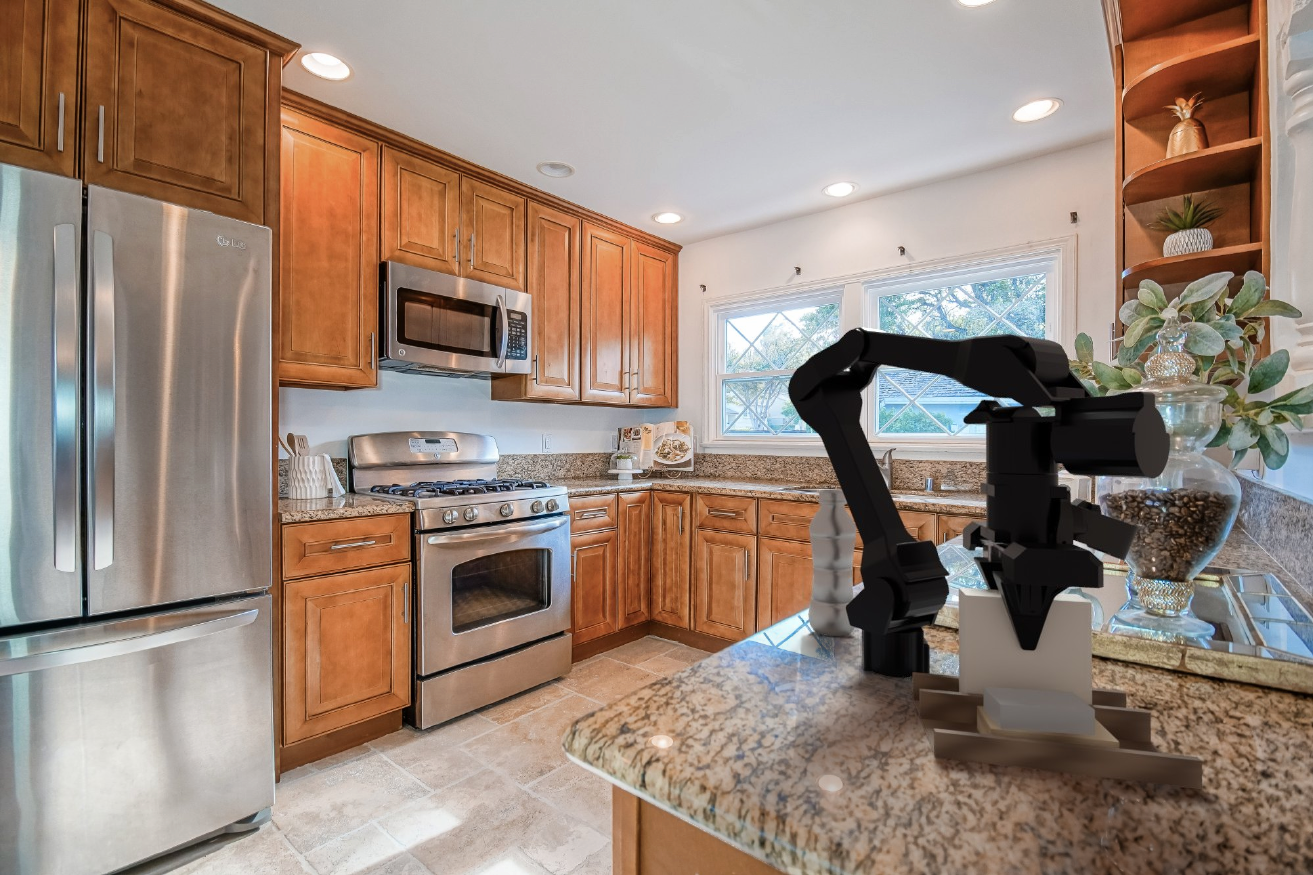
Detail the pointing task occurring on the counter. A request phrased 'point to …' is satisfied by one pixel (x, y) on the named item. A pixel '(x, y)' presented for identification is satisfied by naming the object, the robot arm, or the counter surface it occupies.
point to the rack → (1135, 759)
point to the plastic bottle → (831, 565)
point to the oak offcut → (1047, 733)
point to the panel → (1005, 664)
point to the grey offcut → (1039, 711)
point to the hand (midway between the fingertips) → (1022, 643)
